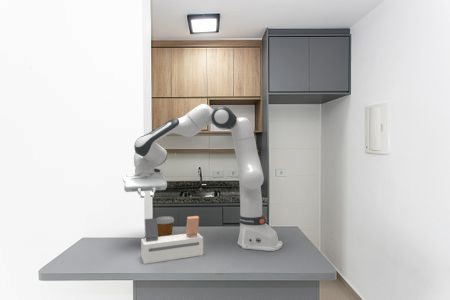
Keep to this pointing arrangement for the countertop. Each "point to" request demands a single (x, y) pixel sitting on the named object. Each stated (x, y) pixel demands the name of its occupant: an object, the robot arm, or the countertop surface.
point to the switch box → (171, 248)
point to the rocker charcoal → (151, 229)
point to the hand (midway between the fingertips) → (147, 196)
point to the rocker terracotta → (192, 225)
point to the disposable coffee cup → (165, 225)
